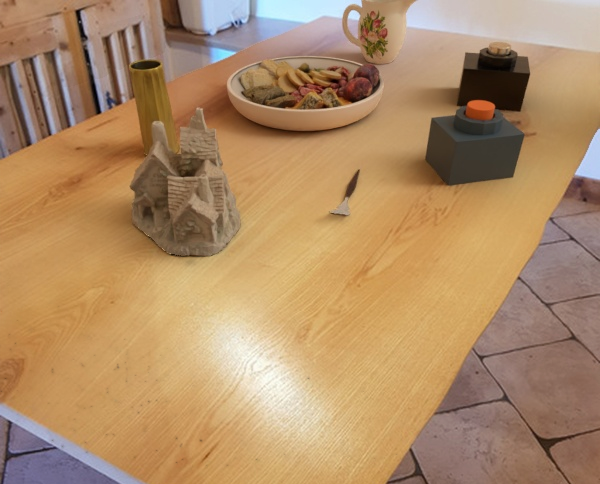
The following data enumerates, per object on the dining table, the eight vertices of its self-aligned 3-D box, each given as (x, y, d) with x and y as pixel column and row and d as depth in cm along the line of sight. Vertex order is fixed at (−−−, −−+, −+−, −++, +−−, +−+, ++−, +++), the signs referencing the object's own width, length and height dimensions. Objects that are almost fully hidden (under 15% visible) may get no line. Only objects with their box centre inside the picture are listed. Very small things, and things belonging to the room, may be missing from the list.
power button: (508, 52, 106) (511, 42, 104) (509, 58, 103) (511, 48, 101) (487, 50, 106) (489, 41, 105) (487, 57, 103) (489, 47, 102)
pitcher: (351, 47, 137) (354, -15, 128) (419, 57, 130) (428, -8, 121) (331, 59, 130) (333, -6, 121) (402, 71, 123) (410, 3, 114)
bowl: (223, 140, 97) (219, 95, 92) (233, 80, 119) (230, 42, 114) (392, 136, 97) (397, 92, 92) (370, 78, 120) (373, 39, 115)
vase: (151, 162, 91) (133, 73, 81) (138, 148, 95) (119, 62, 85) (185, 152, 93) (171, 66, 84) (171, 139, 97) (156, 55, 88)
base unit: (518, 93, 113) (530, 46, 107) (520, 111, 105) (533, 63, 99) (458, 88, 115) (467, 42, 109) (456, 106, 108) (465, 58, 102)
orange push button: (484, 110, 84) (487, 98, 83) (497, 120, 81) (500, 108, 80) (460, 112, 84) (462, 101, 83) (472, 123, 81) (475, 111, 80)
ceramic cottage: (148, 188, 84) (128, 93, 73) (253, 201, 82) (248, 104, 71) (105, 253, 73) (75, 152, 62) (225, 269, 71) (214, 167, 60)
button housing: (485, 152, 92) (498, 99, 86) (513, 177, 86) (528, 122, 80) (424, 159, 91) (433, 106, 85) (447, 186, 84) (458, 129, 78)
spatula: (367, 173, 88) (368, 161, 86) (345, 226, 76) (345, 214, 75) (351, 171, 88) (351, 159, 87) (327, 223, 77) (327, 211, 75)
